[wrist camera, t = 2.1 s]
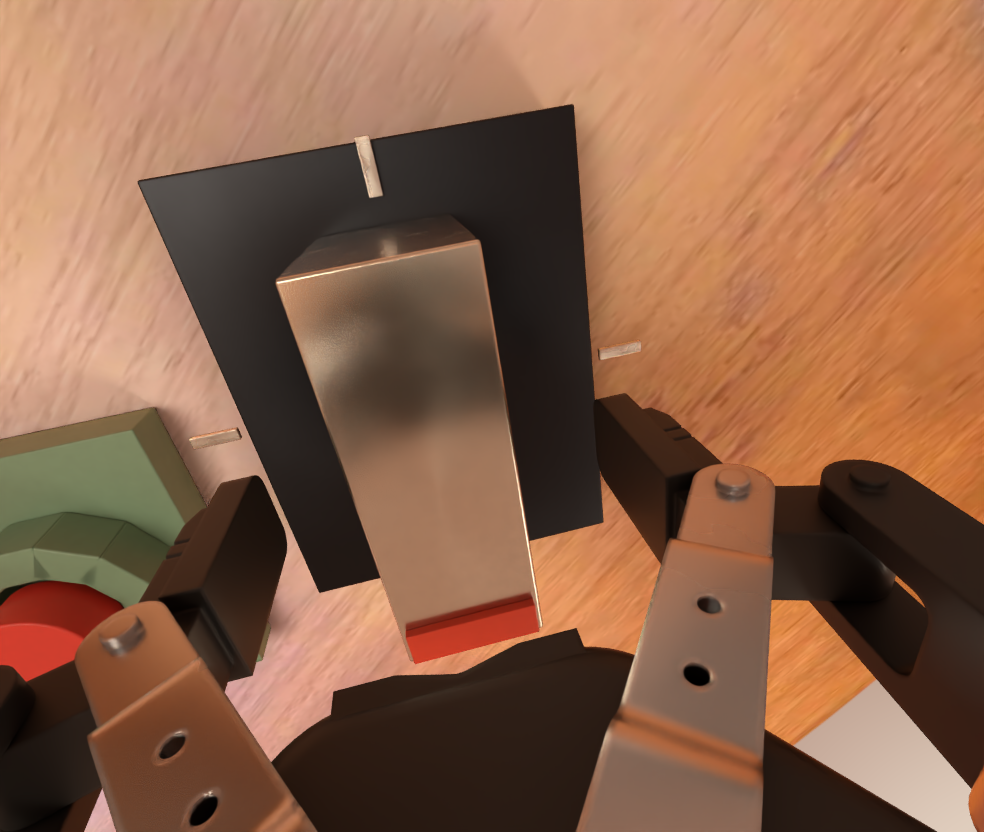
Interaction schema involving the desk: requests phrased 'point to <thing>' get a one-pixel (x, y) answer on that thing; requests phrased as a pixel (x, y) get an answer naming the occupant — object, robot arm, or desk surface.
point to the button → (49, 624)
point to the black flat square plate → (375, 202)
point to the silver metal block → (420, 425)
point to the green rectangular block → (94, 505)
